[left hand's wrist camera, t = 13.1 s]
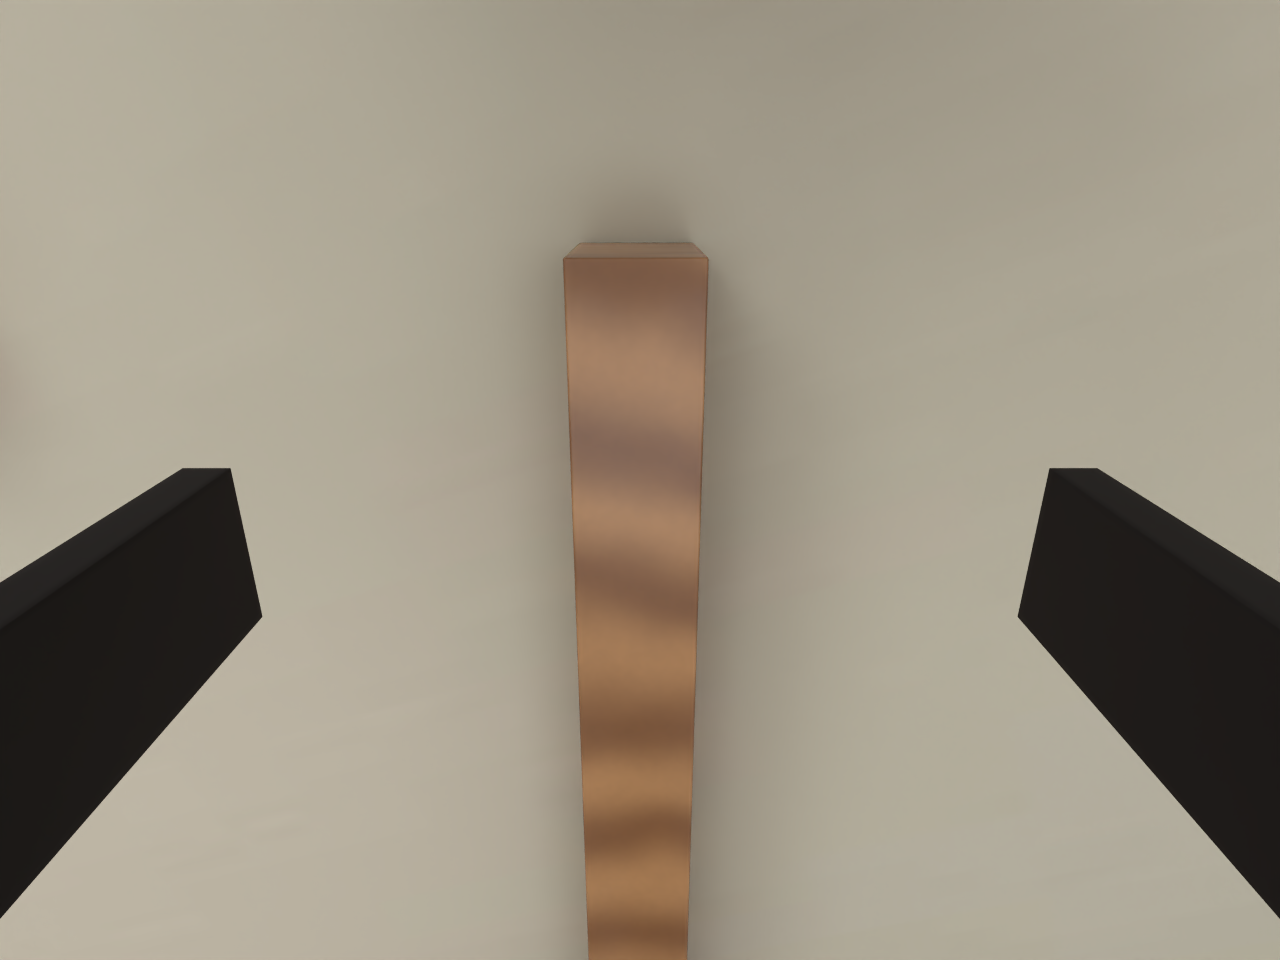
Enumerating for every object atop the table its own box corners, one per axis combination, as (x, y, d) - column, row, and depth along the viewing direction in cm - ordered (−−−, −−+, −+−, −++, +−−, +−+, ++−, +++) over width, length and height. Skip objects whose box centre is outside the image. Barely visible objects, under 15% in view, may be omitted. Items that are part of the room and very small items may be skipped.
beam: (579, 242, 33) (562, 257, 26) (694, 242, 33) (708, 257, 26) (605, 1146, 56) (600, 1282, 49) (672, 1146, 56) (677, 1282, 49)
